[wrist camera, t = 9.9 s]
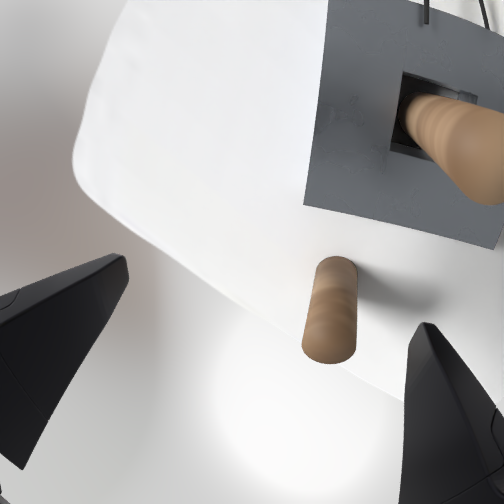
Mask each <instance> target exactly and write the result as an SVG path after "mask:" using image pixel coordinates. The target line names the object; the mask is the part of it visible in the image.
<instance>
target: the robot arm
mask: <svg viewBox="0 0 504 504" xmlns="http://www.w3.org/2000/svg"><path fill="white" fill-rule="evenodd" d="M128 282H129V273H128V268H127V262H126V258H125V257H124V256H123V255H120V254H116V253H112V254H109V255H107V256H104V257H101V258H98V259H95V260H93V261H90V262H87V263H84V264H82V265H79V266H77V267H74V268H71V269H68V270H66V271H63V272H61V273H58V274H55V275H53V276H50V277H48V278H45V279H42V280H40V281H37V282H35V283H32V284H30V285H27V286H25V287H22V288H21V289H17V290H15V291H12V292H10V293H7V294H5V295H2V296H0V453H1V454H2V455H3V456H4V457H6V458H7V459H8V460H9V461H10V462H12V463H13V464H14V465H16V466H17V467H18V468H19V469H21V470H23V469H24V467H25V466H26V463H27V462H28V460H29V458H30V456H31V454H32V452H33V450H34V447H35V446H36V444H37V442H38V440H39V438H40V436H41V434H42V432H43V430H44V428H45V427H46V425H47V423H48V420H49V419H50V417H51V415H52V414H53V412H54V410H55V408H56V406H57V405H58V403H59V401H60V399H61V397H62V396H63V394H64V392H65V391H66V389H67V387H68V385H69V384H70V382H71V380H72V379H73V377H74V375H75V374H76V372H77V370H78V368H79V367H80V365H81V364H82V362H83V360H84V359H85V357H86V356H87V354H88V352H89V351H90V349H91V347H92V346H93V344H94V343H95V341H96V339H97V338H98V336H99V335H100V333H101V332H102V330H103V329H104V327H105V325H106V324H107V322H108V320H109V319H110V317H111V315H112V313H113V311H114V309H115V307H116V305H117V303H118V302H119V300H120V297H121V296H122V294H123V292H124V290H125V288H126V286H127V284H128ZM1 492H2V491H1V486H0V494H1ZM0 504H10V503H9V502H8V501H7V500H5V499H4V498H3V497H2V496H1V495H0ZM398 504H504V417H503V416H502V414H501V413H500V411H499V410H498V408H496V405H495V404H494V402H493V401H492V400H491V398H490V397H489V395H488V394H487V392H486V391H485V390H484V388H483V387H482V385H481V384H480V383H479V381H478V380H477V379H476V377H475V376H474V374H473V373H472V372H471V370H470V369H469V368H468V366H467V365H466V364H465V362H464V361H463V360H462V358H461V357H460V356H459V354H458V353H457V352H456V351H455V349H454V348H453V347H452V345H451V344H450V343H449V342H448V340H447V339H446V338H445V337H444V335H443V334H442V333H441V332H440V330H439V329H438V328H437V327H436V325H434V324H432V323H427V322H422V323H420V325H419V326H418V328H417V330H416V332H415V334H414V335H413V337H412V339H411V341H410V343H409V347H408V358H407V372H406V383H405V394H404V442H403V460H402V474H401V484H400V494H399V503H398Z"/></svg>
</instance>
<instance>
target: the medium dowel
mask: <svg viewBox="0 0 504 504" xmlns="http://www.w3.org/2000/svg"><path fill="white" fill-rule="evenodd" d="M356 338H357V269H356V267H355V265H354V264H353V263H352V262H351V261H350V260H348V259H346V258H344V257H339V256H333V257H328V258H326V259H324V260H323V261H321V262H320V263H319V265H318V266H317V269H316V273H315V279H314V284H313V289H312V295H311V300H310V305H309V310H308V315H307V320H306V325H305V330H304V335H303V339H302V349H303V351H304V353H305V354H306V355H307V356H308V357H309V358H311V359H312V360H314V361H316V362H319V363H324V364H337V363H341V362H344V361H346V360H348V359H349V358H350V357H351V356H352V355H353V354H354V352H355V350H356Z"/></svg>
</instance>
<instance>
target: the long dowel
mask: <svg viewBox="0 0 504 504" xmlns="http://www.w3.org/2000/svg"><path fill="white" fill-rule="evenodd" d="M398 117H399V122H400V125H401V127H402V129H403V130H404V131H405V133H406V134H407V135H408V136H409V137H410V138H412V139H413V140H414V141H415V142H416V143H417V144H418V145H419V146H420V147H421V148H422V149H423V150H424V151H425V152H426V153H427V154H428V155H429V156H430V157H431V158H432V159H433V160H434V161H435V162H436V163H437V164H438V165H439V167H440V168H441V169H442V170H443V171H444V172H445V173H446V174H447V175H448V176H449V177H450V178H451V180H452V181H453V182H454V183H455V184H456V185H457V186H458V187H459V189H460V190H461V191H462V192H463V193H464V194H465V195H466V196H467V197H468V198H470V199H471V200H473V201H474V202H477V203H479V204H483V205H497V204H500V203H503V202H504V114H503V113H500V112H497V111H494V110H491V109H488V108H485V107H481V106H478V105H474V104H471V103H467V102H463V101H460V100H456V99H452V98H448V97H443V96H439V95H435V94H430V93H425V92H414V93H411V94H409V95H408V96H406V97H405V98H404V99H403V101H402V102H401V104H400V107H399V112H398Z"/></svg>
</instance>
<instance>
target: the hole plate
mask: <svg viewBox="0 0 504 504" xmlns="http://www.w3.org/2000/svg"><path fill="white" fill-rule="evenodd" d="M402 75H406V76H410V77H413V78H417V79H420V80H423V81H427V82H430V83H433V84H436V85H439V86H442V87H445V88H448V89H451V90H454V91H457V92H459V96H458V100H460V101H463V102H467V103H471V104H474V105H478V106H481V107H485V108H488V109H491V110H494V111H497V112H500V113H503V114H504V37H503V36H501V35H499V34H497V33H495V32H492V31H490V30H488V29H486V28H484V27H481V26H479V25H477V24H474V23H472V22H470V21H467V20H465V19H462V18H460V17H457V16H454V15H452V14H449V13H446V12H443V11H440V10H437V9H434V8H431V7H429V25H427V24H424V5H422V4H418V3H415V2H411V1H408V0H329V1H328V12H327V23H326V33H325V43H324V53H323V62H322V71H321V80H320V88H319V97H318V105H317V112H316V120H315V128H314V135H313V142H312V150H311V157H310V164H309V170H308V177H307V184H306V190H305V197H304V203H303V205H307V206H312V207H317V208H322V209H327V210H332V211H337V212H341V213H346V214H351V215H355V216H360V217H364V218H369V219H373V220H378V221H382V222H387V223H391V224H395V225H399V226H404V227H408V228H412V229H416V230H420V231H424V232H428V233H432V234H436V235H440V236H444V237H447V238H451V239H455V240H459V241H463V242H466V243H470V244H474V245H477V246H481V247H484V248H488V249H491V250H494V247H495V245H496V243H497V240H498V238H499V235H500V233H501V230H502V228H503V225H504V202H503V203H500V204H497V205H483V204H479V203H477V202H474V201H473V200H471V199H470V198H468V197H467V196H466V195H465V194H464V193H463V192H462V191H461V190H460V189H459V187H458V186H457V185H456V184H455V183H454V182H453V181H452V180H451V178H450V177H449V176H448V175H447V174H446V173H445V172H444V171H443V170H442V169H441V168H440V167H439V165H438V164H437V163H436V162H435V161H434V160H433V159H432V158H431V157H430V156H429V155H428V154H427V153H426V152H425V151H423V150H420V149H416V148H413V147H409V146H405V145H401V144H398V143H394V142H391V139H392V134H393V129H394V123H395V118H396V112H397V106H398V100H399V94H400V87H401V80H402Z"/></svg>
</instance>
